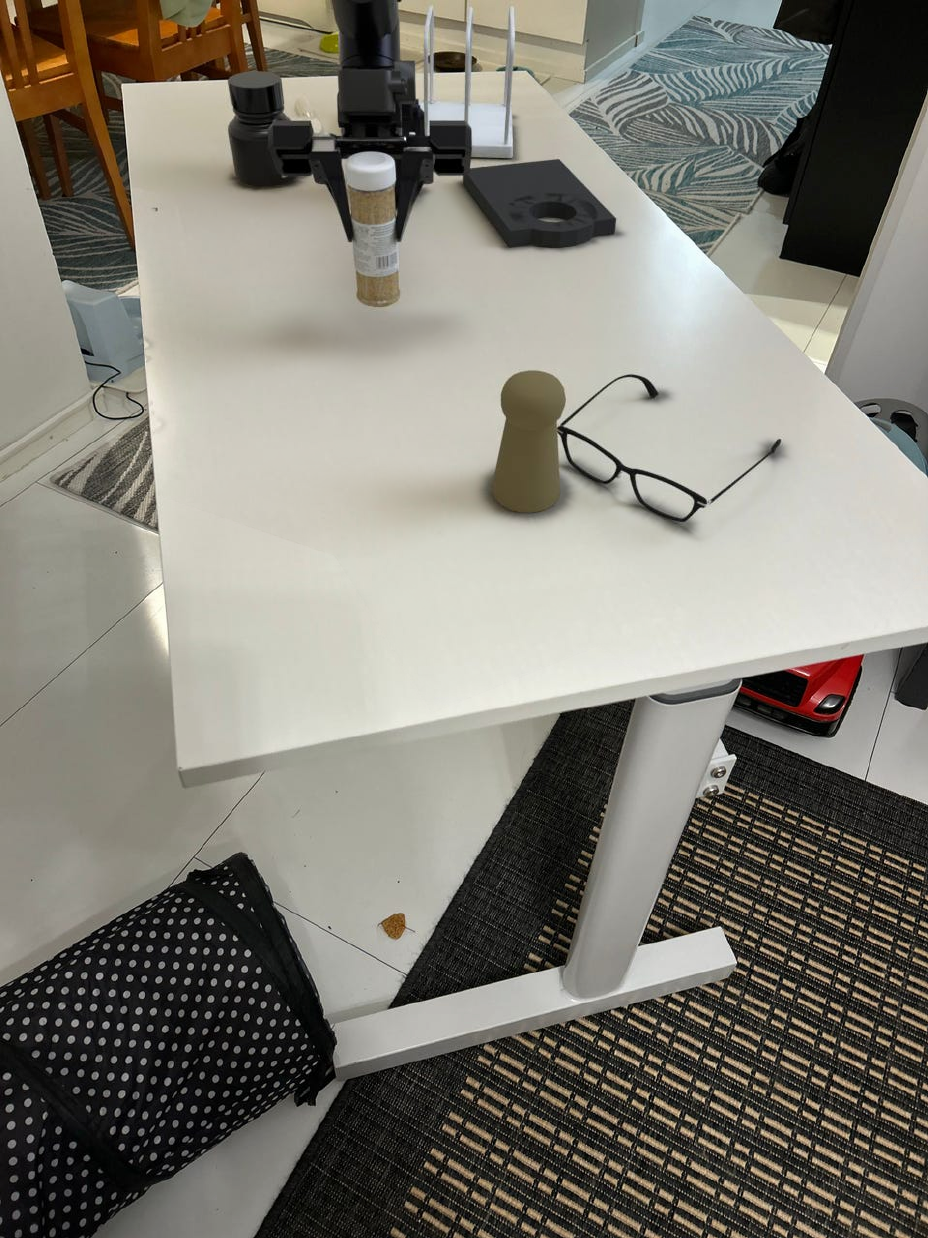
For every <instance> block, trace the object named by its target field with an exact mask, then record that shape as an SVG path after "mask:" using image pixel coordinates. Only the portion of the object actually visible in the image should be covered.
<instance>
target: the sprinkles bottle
mask: <svg viewBox="0 0 928 1238" xmlns="http://www.w3.org/2000/svg"><path fill="white" fill-rule="evenodd" d="M344 170H345V172H344V173H345V181H346V186H347V189H348V194H349V196H348V198H349V208H350V215H351V225H352V250H353V251H352V253H353V263H354V270H355V279H356V299H357V300H358V302H360V303H361V304H363V305H364V306H367V307H371V308H384V307H389V306H392V305H394V304H395V303H397V302H398V301H399V300H400V299H401V294H402V293H401V289H400V276H399V272H400V271H399V267H400V263H399V242H397V232H396V219H397V210H396V209H397V207H395V192H394V187H395V181H396V171H395V161H394V159H393V158H392V157H391V156H389V155H387V154H385V153H381V152H361V153H357V154H354V155H352V156H350V157H349V158H348V159H345V163H344Z"/></svg>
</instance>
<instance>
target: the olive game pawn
mask: <svg viewBox="0 0 928 1238" xmlns="http://www.w3.org/2000/svg"><path fill="white" fill-rule="evenodd" d="M566 398H567V397H566V392H565V387H564V385H563V384H562V382H561V381H560V380H559V378H557V377H556V376H555V375H553V374H552V373H549V372H547V371H541V370H534V369H533V370H532V369H530V370H529V369H528V370H524V371H523V370H522V371H519V372H517V373H514V374H512V375H511V376H510V377H508V379H507V380H506V381H505V382H504V384H503V386H502V388H501V391H500V407H501V411H502V412H501V413H502V414H503V415H504V418H505V421H504V426H503V429H502V434H501V438H500V439H501V440H500V445H499V448H498V454H497V459H496V463H495V468H494V474H493V478H492V483H491V495H492V497H493V498H494V500H495V502H497V503H498V504H499V505H500V506H501V507H503V508H505V509H508V510H510V511H512V512H517V513H522V514H523V513H525V514H527V513H528V514H530V513H531V514H533V513H538V512H542V511H546V510H548V509H550V508H552V507H553V506H554V505H555V504H556V503H557V502H558V501H559V498H560V497H561V481H560V478H561V477H560V459H559V457H560V456H559V437H558V436H559V434H558V432H557V427H558V420H559V419H560V418H561V416H562V415H563V412H564V410H565V407H566V402H567V399H566Z"/></svg>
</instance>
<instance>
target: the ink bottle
mask: <svg viewBox="0 0 928 1238" xmlns="http://www.w3.org/2000/svg"><path fill="white" fill-rule="evenodd" d="M227 85H228V90H229V98H230V103H231V106H232V113H234V116H233V118H232V119H231V120H230V122H229V123H228V126H227V133H228V134H227V135H228V139H229V145H230V152H231V158H232V164H233V171H234V176H235V178H236V179H237V181H238V182H240V183H241V184H242V185H245V186H247V187H248V186H249V187H254V188H273V187H280V186H284V185H285V186H286V185H288V184H291V183H292V182H295V180H297V179H298V177H299V176H283V175H280V174H278V173H277V170H276V168H275V165H274V162H273V160H272V157H271V154H270V152H269V149H268V129H269V127H270V126H271V124H272V123H273V122H274V120H292V119H291V118H290V117H289V116H288V115H286V113H284V111H285V96H284V89H283V80H282V78H281V76H280V75H279V74H277V73H275V72H269V71H258V70H257V71H256V70H253V71H244V72H240V73H236V74H234V75H231V76H230V77H229V78H228V80H227Z"/></svg>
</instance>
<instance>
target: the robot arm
mask: <svg viewBox="0 0 928 1238" xmlns="http://www.w3.org/2000/svg"><path fill="white" fill-rule="evenodd" d="M402 1H403V0H331V6H332V10H333V15H334V21H335V24H336V26H337V28H338V50H339V49H340V64H339V70H338V71H337V87H338V91H337V94H336V104H337V105H336V108H337V111H336V112H337V125H338V128H340V130H341V131H340V135H336V134H335V133H331V132H330V133H329V132H328V133H327V132H326V133H325V132H323V133H321V132H319V133H316V132H315V131H314V127H313V123H312V120H307V119H306V120H302V119H299V120H298V119H297V120H296V119H295V120H294V119H293V120H292V119H291V120H274V122H273V123H272V124H271V126H270V127H269V129H268V149H269V152H270V154H271V157H272V160H273V162H274V165H275V168H276V170H277V173H278V174H280V175H283V176H298V177H312V176H313V179H314V183H315V184H317V185H325V186H326V188H327V190H328V192H329V194H330V196H331V198H332V201H333V202H334V204H335V206H336V209H337V212H338V215H339V218H340V221H341V225H342V227H343V230H344V233H345V237H346V240H347V242H348V243H353V241H352V225H351V210H350V201H349V196H348V190H347V189H348V187H347V182H346V175H345V172H344V168H343V167H344V166H343V160H347V159H348V158H349V157H350V156H352V155H354V154H357V153H361V152H381V153H385V154H387V155H389V156H391V157H392V158H393V159H394V161H395V171H396V181H395V187H394V192H395V207H396V209H397V210H396V217H397V219H396V232H397V242H398V243H401V242H402V240H403V237H404V234H405V231H406V229H407V225H408V221H409V218H410V215H411V213H412V210H413V207H414V205H415V202H416V200H417V199H418V196H419V195H420V193H421V191H422V188H423V187H424V185H431V184H433V183H434V181H435V180H434V177H435V175H436V176H437V177H463V176H464V175H467V174H469V173H470V168H471V162H472V161H471V160H472V157H471V154H472V130H471V127H470V126H469V124H468V123H467V122H466V121H465V120H429V136H425V114H424V111H423V110H422V109H421V108H420V105H419V101H420V99H419V98H417V91H416V87H417V86H416V84H417V83H416V60H401V32H400V31H401V26H400V24H401V23H400V22H401V21H400V17H399V16H400V15H399V3H401V2H402ZM412 132H415V134H410V133H412ZM434 174H435V175H434Z"/></svg>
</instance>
